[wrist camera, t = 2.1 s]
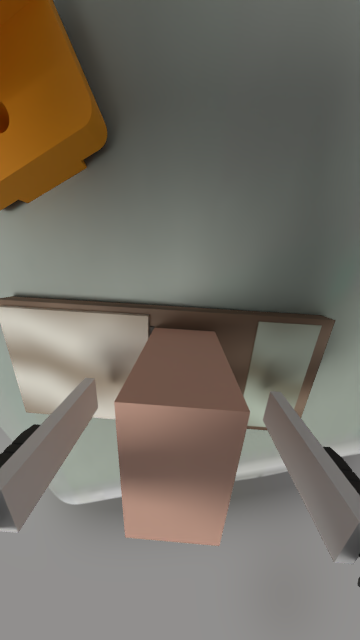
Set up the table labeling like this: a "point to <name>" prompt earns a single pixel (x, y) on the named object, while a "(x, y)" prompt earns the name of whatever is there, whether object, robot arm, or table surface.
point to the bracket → (42, 103)
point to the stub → (179, 438)
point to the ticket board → (131, 336)
